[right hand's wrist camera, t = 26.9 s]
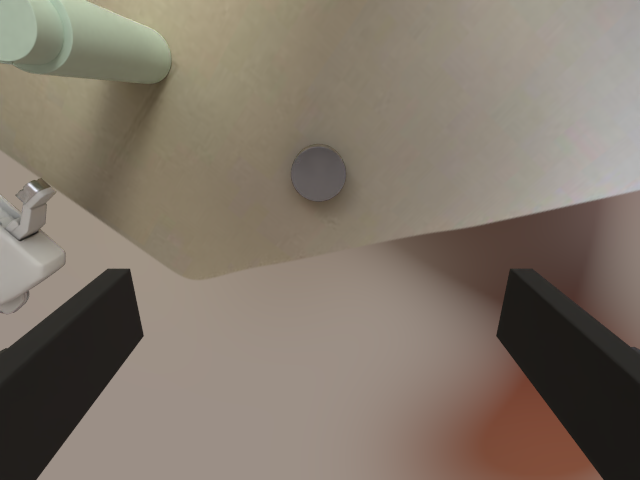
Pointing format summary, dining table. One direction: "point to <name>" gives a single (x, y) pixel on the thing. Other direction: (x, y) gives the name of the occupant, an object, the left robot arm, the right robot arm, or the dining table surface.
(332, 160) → the lid
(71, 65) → the green bottle
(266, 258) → the dining table surface
